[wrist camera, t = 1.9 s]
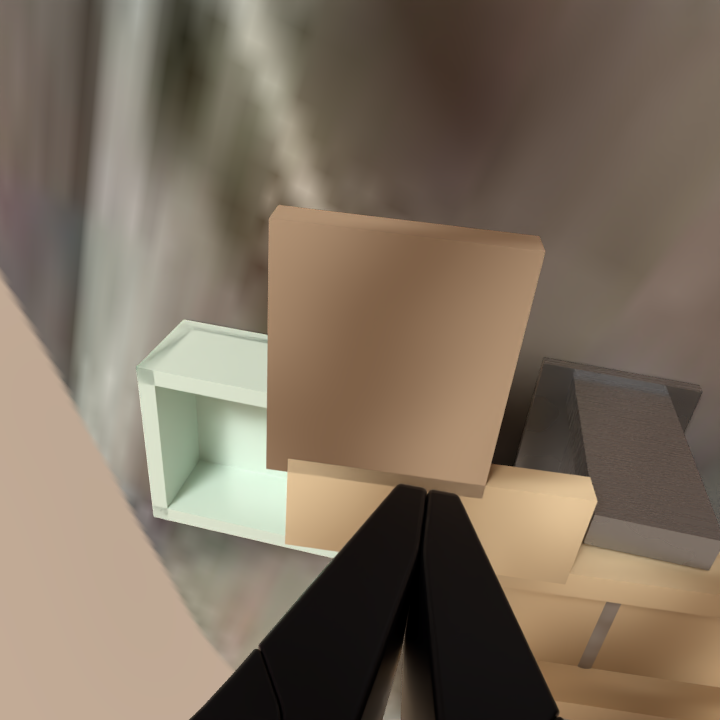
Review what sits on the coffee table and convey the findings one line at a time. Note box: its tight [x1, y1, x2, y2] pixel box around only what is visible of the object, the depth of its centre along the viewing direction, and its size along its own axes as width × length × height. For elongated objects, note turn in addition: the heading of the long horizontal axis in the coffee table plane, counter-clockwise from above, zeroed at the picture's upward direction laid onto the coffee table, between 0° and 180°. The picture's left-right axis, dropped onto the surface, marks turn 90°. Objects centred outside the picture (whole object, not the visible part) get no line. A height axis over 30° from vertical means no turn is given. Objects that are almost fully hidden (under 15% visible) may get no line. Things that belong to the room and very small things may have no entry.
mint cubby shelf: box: [136, 320, 338, 558], centre depth 23 cm, size 10×7×4 cm
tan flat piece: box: [266, 205, 720, 720], centre depth 15 cm, size 20×14×3 cm
